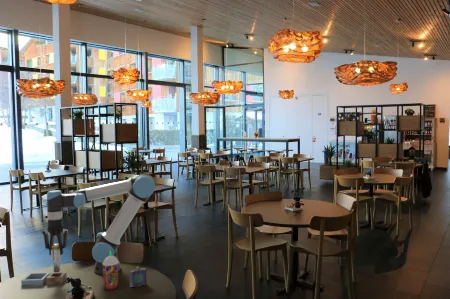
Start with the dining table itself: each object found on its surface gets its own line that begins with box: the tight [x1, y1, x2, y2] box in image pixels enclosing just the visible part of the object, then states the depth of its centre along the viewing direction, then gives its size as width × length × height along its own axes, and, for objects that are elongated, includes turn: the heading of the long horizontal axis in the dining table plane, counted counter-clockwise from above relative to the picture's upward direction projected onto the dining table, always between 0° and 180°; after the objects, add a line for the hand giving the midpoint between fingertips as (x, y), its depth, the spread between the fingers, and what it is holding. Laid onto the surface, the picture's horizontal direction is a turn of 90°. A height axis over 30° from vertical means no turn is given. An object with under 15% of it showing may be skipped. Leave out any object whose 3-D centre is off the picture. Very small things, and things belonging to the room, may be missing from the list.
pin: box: [51, 242, 61, 272], centre depth 213 cm, size 5×5×15 cm
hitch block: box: [45, 271, 67, 286], centre depth 213 cm, size 8×8×4 cm
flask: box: [128, 265, 147, 288], centre depth 206 cm, size 9×3×11 cm, turn 121°
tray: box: [20, 272, 51, 288], centre depth 212 cm, size 11×11×4 cm
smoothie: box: [102, 251, 120, 291], centre depth 204 cm, size 8×8×20 cm
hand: (56, 260), depth 213 cm, fingers closed on pin, 3 cm apart
